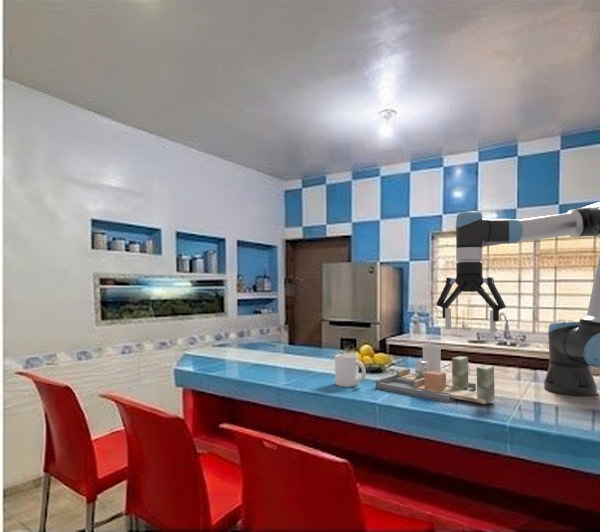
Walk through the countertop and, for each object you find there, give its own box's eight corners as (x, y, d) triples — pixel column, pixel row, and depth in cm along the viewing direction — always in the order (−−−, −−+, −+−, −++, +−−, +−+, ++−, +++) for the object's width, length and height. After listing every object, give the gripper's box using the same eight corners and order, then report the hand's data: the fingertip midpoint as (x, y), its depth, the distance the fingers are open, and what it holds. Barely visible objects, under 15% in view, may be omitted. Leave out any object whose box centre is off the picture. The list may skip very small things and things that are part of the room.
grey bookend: (436, 379, 161) (436, 347, 162) (420, 377, 166) (419, 345, 166) (446, 375, 169) (446, 344, 170) (430, 372, 173) (430, 343, 174)
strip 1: (469, 386, 146) (468, 356, 146) (460, 390, 141) (459, 359, 141) (406, 376, 162) (406, 349, 162) (396, 379, 156) (396, 352, 157)
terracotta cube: (446, 388, 139) (445, 372, 140) (439, 391, 136) (439, 375, 136) (431, 385, 143) (431, 370, 143) (424, 388, 139) (424, 372, 139)
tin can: (430, 378, 154) (430, 361, 154) (424, 380, 151) (424, 363, 151) (419, 376, 157) (418, 360, 157) (413, 378, 154) (413, 361, 154)
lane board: (475, 389, 146) (475, 381, 147) (448, 402, 130) (448, 393, 130) (407, 377, 164) (407, 370, 164) (375, 388, 148) (375, 380, 148)
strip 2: (495, 398, 130) (494, 365, 131) (486, 404, 125) (486, 369, 125) (423, 386, 146) (423, 356, 146) (412, 390, 141) (412, 359, 141)
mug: (371, 385, 152) (371, 356, 152) (358, 390, 145) (358, 359, 146) (343, 380, 159) (343, 352, 160) (330, 384, 153) (330, 355, 154)
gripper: (516, 261, 128) (517, 332, 127) (435, 263, 144) (436, 326, 143) (508, 260, 122) (509, 335, 121) (425, 262, 138) (426, 328, 138)
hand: (469, 330), depth 132 cm, fingers open, 13 cm apart
